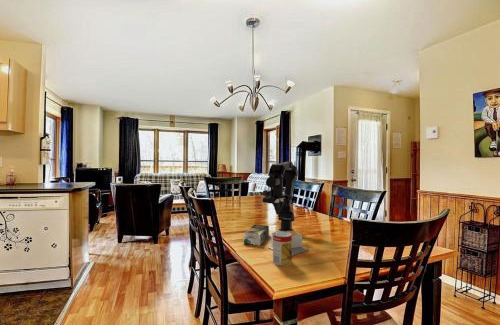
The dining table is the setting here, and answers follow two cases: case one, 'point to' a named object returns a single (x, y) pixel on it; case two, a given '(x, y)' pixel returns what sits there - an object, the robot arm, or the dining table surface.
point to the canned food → (282, 248)
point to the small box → (293, 239)
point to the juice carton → (256, 234)
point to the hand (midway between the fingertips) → (277, 214)
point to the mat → (295, 250)
